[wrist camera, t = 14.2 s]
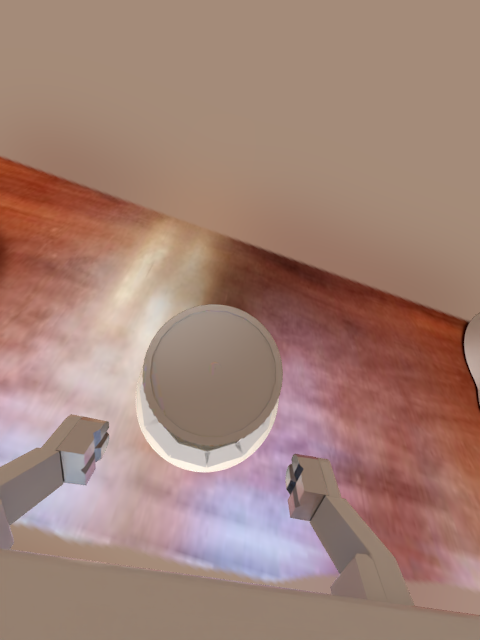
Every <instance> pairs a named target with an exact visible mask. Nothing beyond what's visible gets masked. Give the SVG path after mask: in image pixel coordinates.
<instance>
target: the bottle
mask: <svg viewBox="0 0 480 640" xmlns="http://www.w3.org/2000/svg"><path fill="white" fill-rule="evenodd" d="M282 375H283V372H282V362H281V357H280V353H279V350H278V348H277V345H276V343H275V341H274V339H273V338H272V336H271V334H270V333H269V332H268V330H267V329H266V328H265V327H264V326H263V325H262V324H261V323H260V322H259V321H258V320H257V319H255V318H254V317H253V316H251V315H250V314H248V313H246V312H244V311H242V310H240V309H237V308H234V307H231V306H226V305H218V304H210V305H201V306H197V307H193V308H190V309H187V310H185V311H183V312H181V313H179V314H177V315H176V316H174V317H173V318H171V319H170V320H169V321H168V322H167V323H165V324H164V325H163V326H162V328H161V329H160V330H159V331H158V332H157V334H156V335H155V337H154V338H153V340H152V341H151V343H150V345H149V348H148V350H147V353H146V356H145V359H144V365H143V374H142V377H143V386H144V393H145V395H146V401H148V404H149V408H150V409H151V410H152V412H153V415H154V416H156V418H157V419H158V422H159V423H161V424H162V425H163V426H164V428H165V429H168V430H169V431H170V433H171V434H175V435H176V436H177V438H179V439H180V438H182V439H184V440H185V441H186V442H193V444H201V445H202V446H205V445H210V446H214V445H219V446H221V445H222V444H230V443H231V442H234V441H235V442H237V441H238V440H239V439H241V438H245V437H246V436H247V435H249V434H252V433H253V431H254V430H256V429H258V428H259V426H260V425H261V424H262V423H264V422H265V420H266V419H267V417H269V416H270V413H271V412H272V410H273V409H274V407H275V404H276V403H277V400H278V397H279V395H280V390H281V387H282Z"/></svg>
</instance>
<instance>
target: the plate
mask: <svg viewBox="0 0 480 640" xmlns="http://www.w3.org/2000/svg"><path fill="white" fill-rule="evenodd" d="M142 374H143V369H142V371H141V373H140V376H139V379H138V383H137V388H136V399H135V402H136V413H137V418H138V422H139V425H140V428H141V430H142V432H143V434H144V436H145V438H146V440H147V441H148V443H149V444H150V445H151V447H152V448H153V449H154V450H155V451H156V452H157V453H158V454H159V455H160V456H161V457H162V458H164V459H165V460H166V461H168V462H170V463H171V464H173V465H175V466H177V467H180V468H183V469H185V470H190V471H195V472H215V471H220V470H224V469H227V468H230V467H232V466H235V465H237V464H239V463H240V462H242V461H244V460H245V459H247V458H248V457H249V456H250V455H252V454H253V453H254V452H255V451H256V450H257V449H258V448H259V447H260V446H261V444H262V443H263V442H264V440H265V439H266V437H267V436H268V434H269V432H270V430H271V428H272V426H273V423H274V421H275V417H276V414H277V409H278V401H279V397H278V400H277V403H276V404H275V407H274V409H273V410H272V412H271V413H270V416H269V417H267V419H266V420H265V422H264V423H262V424H261V425H260V426H259V428H258V429H256V430H254V431H253V433H252V434H249V435H247V436H246V437H245V438H241V439H239V440H238V441H237V442H235V441H234V442H231V443H230V444H222V445H221V446H219V445H214V446H210V445H205V446H202V445H201V444H193V442H186V441H185V440H184V439H182V438H180V439H179V438H177V436H176V435H175V434H171V433H170V431H169V430H168V429H165V428H164V426H163V425H162V424H161V423H159V422H158V419H157V418H156V416H154V415H153V412H152V410H151V409H150V408H149V404H148V401H146V395H145V393H144V386H143V377H142Z"/></svg>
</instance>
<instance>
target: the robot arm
mask: <svg viewBox="0 0 480 640" xmlns="http://www.w3.org/2000/svg"><path fill="white" fill-rule="evenodd" d="M464 349H465V356H466V360H467V363H468V366H469V369H470V372H471V374H472V376H473V378H474V380H475V383H476V385H477V388H478V396H479V404H480V313H479V314H477V315H476V316H475V317H474V318H473V319H472V320H471V321H470V323H469V324H468V327H467V329H466V332H465V338H464ZM108 428H109V422H107V421H103V420H98V419H93V418H88V417H83V416H77V415H72V414H71V415H70V416H68V417H67V418H66V419H65V420H64V421H63V423H62V424H61V425H60V426H59V427H58V428H57V430H56V431H55V432H54V433H53V434H52V436H51V437H50V438H49V439H48V440H47V442H46V443H45V444H44V445H43V446H42V447H41V448H35V449H34V450H32V451H30V452H28V453H26V454H24V455H22V456H20V457H18V458H17V459H15V460H13V461H11V462H9V463H7V464H5V465H3V466H2V467H0V640H480V615H474V614H468V613H460V612H453V611H446V610H439V609H432V608H425V607H417V606H415V605H414V603H413V600H412V598H411V596H410V593H409V591H408V588H407V586H406V583H405V581H404V578H403V576H402V574H401V571H400V569H399V566H398V564H397V562H396V559H395V557H394V556H393V555H392V554H391V553H390V551H389V550H388V549H387V548H386V547H385V546H384V544H383V543H382V542H381V541H380V540H379V538H378V537H377V536H376V535H375V534H374V533H373V531H372V530H371V529H370V528H369V527H368V525H367V524H366V523H365V522H364V521H363V519H362V518H361V517H360V516H359V515H358V514H357V512H356V511H355V510H354V509H353V508H352V506H351V505H350V504H349V503H348V502H347V501H346V499H344V498H341V494H340V491H339V488H338V485H337V482H336V479H335V476H334V473H333V470H332V467H331V464H330V461H329V460H328V459H322V458H316V457H312V456H306V455H299V454H294V455H293V457H292V464H291V465H289V466H288V468H287V471H286V489H287V491H288V492H289V494H290V497H289V499H288V504H289V511H290V518H295V519H300V520H306V521H310V524H311V525H312V527H313V529H314V531H315V532H316V534H317V536H318V537H319V539H320V541H321V543H322V544H323V546H324V548H325V549H326V551H327V553H328V554H329V556H330V558H331V560H332V561H333V563H334V565H335V566H336V568H337V570H338V572H339V573H340V575H339V576H338V577H337V579H336V580H335V581H334V583H333V584H332V586H331V592H332V594H324V593H317V592H310V591H303V590H296V589H289V588H281V587H274V586H267V585H260V584H253V583H246V582H238V581H231V580H224V579H217V578H210V577H203V576H195V575H189V574H181V573H174V572H167V571H160V570H153V569H146V568H139V567H131V566H124V565H116V564H110V563H103V562H95V561H88V560H80V559H74V558H66V557H60V556H52V555H45V554H37V553H31V552H23V551H16V550H9V549H10V548H11V546H12V545H13V543H14V539H13V535H12V532H11V529H10V525H11V524H12V523H14V522H15V521H16V520H17V519H19V518H20V517H21V516H23V515H24V514H25V513H26V512H28V511H29V510H30V509H32V508H33V507H34V506H35V505H37V504H38V503H39V502H41V501H42V500H43V499H44V498H46V497H47V496H48V495H50V494H51V493H52V492H54V491H55V490H56V489H57V488H59V487H60V486H61V485H63V482H64V483H72V484H80V485H86V484H87V483H88V481H89V479H90V477H91V476H92V474H93V472H94V471H95V462H97V461H98V460H100V459H101V458H102V456H103V455H104V453H105V451H106V448H107V445H108V441H109V434H108V433H107V432H106V431H107V430H108Z"/></svg>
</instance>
